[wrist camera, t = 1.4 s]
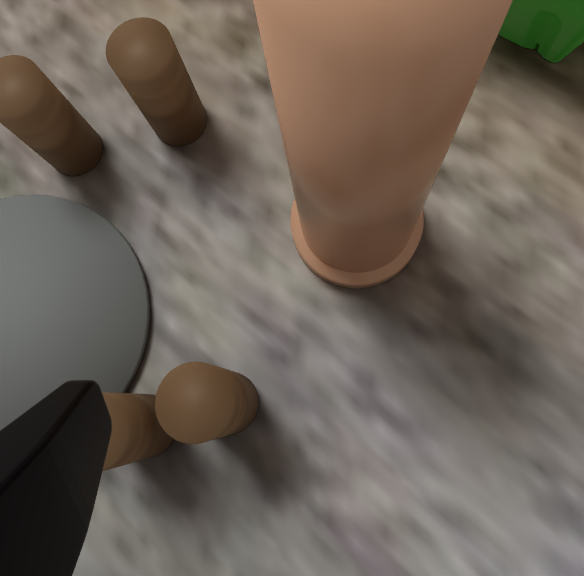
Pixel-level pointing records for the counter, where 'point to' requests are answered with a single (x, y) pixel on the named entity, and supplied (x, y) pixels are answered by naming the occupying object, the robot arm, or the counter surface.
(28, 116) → the peg
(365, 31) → the terracotta vase
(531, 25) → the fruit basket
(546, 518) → the counter surface
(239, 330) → the counter surface
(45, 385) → the slate coaster
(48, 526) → the robot arm
